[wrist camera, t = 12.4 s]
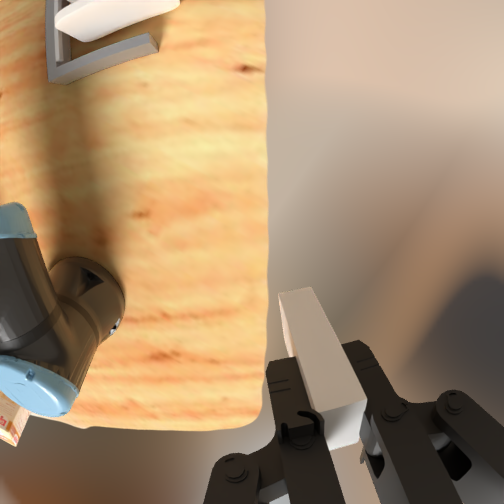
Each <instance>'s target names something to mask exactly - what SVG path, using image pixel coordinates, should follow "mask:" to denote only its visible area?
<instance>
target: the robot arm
mask: <svg viewBox="0 0 504 504" xmlns="http://www.w3.org/2000/svg"><path fill="white" fill-rule="evenodd" d="M278 296H279V303H280V310H281V318H282V326H283V333H284V340H285V343H286V347H287V350H288V354H289V358H284V359H280V360H275V361H270V362H269V364H268V367H267V370H266V377H267V383H268V388H269V393H270V399H271V404H272V410H273V415H274V420H275V425H276V431H275V435H274V437H273V439H272V440H271V442H270V443H269V444H268V445H267V446H265V447H263V448H262V449H260V450H258V451H256V452H253V453H251V454H249V455H245V454H242V453H232V454H229V455H226V456H223V457H222V458H220V459H219V460H218V461H217V462H216V463H215V465H214V467H213V469H212V473H211V476H210V481H209V484H208V488H207V492H206V495H205V499H204V503H203V504H269V502H271V501H273V500H275V499H277V498H279V497H281V496H283V495H285V494H287V493H288V494H289V499H290V504H346V503H345V500H344V497H343V493H342V490H341V487H340V484H339V481H338V477H337V474H336V471H335V468H334V464H333V461H332V458H331V455H330V452H329V450H333V449H336V448H340V447H344V446H347V445H350V444H354V443H357V442H358V440H359V436H360V438H361V440H362V443H363V445H364V446H363V450H362V453H361V456H360V464H362V463H363V462H364V460H365V462H366V465H367V467H368V470H369V473H370V475H371V478H372V480H373V484H374V486H375V489H376V492H377V494H378V497H379V500H380V503H381V504H463V503H464V504H504V427H503V426H502V425H501V424H499V423H498V422H497V421H496V420H495V419H494V418H493V417H492V416H490V414H488V413H487V412H486V411H485V410H484V409H483V408H482V407H480V406H479V405H478V404H477V403H476V402H475V401H474V400H473V399H471V398H470V397H469V396H468V395H467V394H465V393H463V392H462V391H458V390H449V391H446V392H444V393H442V394H441V395H440V396H439V398H438V399H437V401H434V402H426V403H410V402H408V401H407V400H405V399H403V398H401V397H399V396H398V395H397V394H396V392H395V391H394V389H393V387H392V385H391V384H390V382H389V380H388V378H387V377H386V375H385V374H384V372H383V370H382V368H381V366H379V363H378V361H377V360H376V358H375V357H374V355H373V353H372V351H371V350H370V349H369V347H368V346H367V345H366V344H364V343H363V342H361V341H360V340H357V341H353V342H349V343H345V344H340V342H339V341H338V338H337V336H336V334H335V332H334V330H333V328H332V326H331V324H330V322H329V320H328V319H327V317H326V315H325V313H324V311H323V309H322V307H321V305H320V303H319V301H318V299H317V297H316V295H315V294H314V292H313V290H312V288H311V287H306V288H302V289H297V290H292V291H287V292H282V293H278ZM124 310H125V303H124V298H123V294H122V291H121V289H120V287H119V285H118V284H117V282H116V280H115V279H114V278H113V277H112V275H111V274H110V273H109V272H108V271H107V270H106V269H104V268H103V267H102V266H100V265H99V264H97V263H95V262H93V261H91V260H89V259H86V258H81V257H69V258H65V259H63V260H61V261H59V262H58V263H57V264H56V265H55V266H54V267H53V268H52V269H51V270H50V271H49V272H48V271H47V269H46V266H45V263H44V260H43V257H42V254H41V251H40V248H39V245H38V241H37V234H36V233H34V230H33V227H32V224H31V221H30V218H29V215H28V212H27V210H26V208H25V207H24V206H23V205H22V204H20V203H18V202H11V203H7V204H4V205H0V390H1V391H2V392H3V393H4V394H5V395H6V396H7V397H8V398H10V399H11V400H12V401H14V402H15V403H17V404H18V405H20V406H21V407H23V408H25V409H27V410H29V411H31V412H34V413H36V414H39V415H43V416H47V417H60V416H63V415H65V414H67V413H68V412H69V411H70V409H71V407H72V405H73V403H74V401H75V399H76V398H77V397H78V396H79V391H80V389H81V386H82V383H83V381H84V378H85V376H86V373H87V371H88V368H89V366H90V363H91V361H92V359H93V356H94V354H95V351H96V349H97V347H98V346H99V345H100V344H101V343H102V342H104V341H105V340H106V339H107V338H109V337H110V336H111V335H112V334H113V333H114V332H115V331H116V330H117V328H118V327H119V325H120V323H121V320H122V318H123V315H124ZM462 502H463V503H462Z"/></svg>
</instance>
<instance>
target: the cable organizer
mask: <svg viewBox="0 0 504 504" xmlns="http://www.w3.org/2000/svg"><path fill="white" fill-rule="evenodd" d="M67 1H68V2H70V3H71V4H70V5H68V6H66V7H65V8H63V9H62V10H60V11H59V12H58V13H57V14H56V16H55V18H54V19H55V27H56V28H57V29H58V30H60V31H62V32H64V33H66V34H68V35H70V36H72V37H74V38H76V39H78V40H80V41H82V42H90V41H94V40H97V39H99V38H102V37H104V36H106V35H108V34H111V33H113V32H115V31H117V30H120V29H122V28H125V27H127V26H130V25H132V24H135V23H137V22H140V21H143V20H146V19H148V18H151V17H154V16H157V15H160V14H163V13H166V12H169V11H171V10H173V9H175V8H177V7H178V6H179V5H180V0H67Z"/></svg>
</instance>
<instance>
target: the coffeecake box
mask: <svg viewBox="0 0 504 504" xmlns="http://www.w3.org/2000/svg"><path fill="white" fill-rule="evenodd" d="M30 413H31V411H29V410H27V409H25V408H23V407H21V406H20V405H18V404H17V403H15V402H14V401H12V400H11V399H10V398H8V397H7V396H6V395H5V394H4V393H3V392H2V391H1V390H0V438H1V439H3V440H4V441H6V442H8V443H10V444H12V445H14V446H17V443H18V441H19V438H20V436H21V433H22V431H23V429H24V426H25V424H26V422H27V419H28V417H29V415H30Z"/></svg>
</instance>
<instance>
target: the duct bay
mask: <svg viewBox="0 0 504 504" xmlns="http://www.w3.org/2000/svg"><path fill="white" fill-rule="evenodd" d="M68 5H69V2H68V1H67V0H46V11H45V36H46V59H47V72H48V82H51V83H57V84H62V85H67V84H69V83H71V82H74V81H76V80H78V79H81V78H83V77H85V76H88V75H90V74H93V73H96V72H98V71H101V70H103V69H106V68H109V67H112V66H115V65H117V64H120V63H123V62H126V61H129V60H133V59H136V58H139V57H142V56H146V55H149V54H153V53H157V52H158V47H157V42H156V41H155V40H154V38H153V37H152V36H151V35H150V34H149V32H148V33H145V34H142V35H138V36H135V37H132V38H129V39H126V40H123V41H120V42H117V43H114V44H111V45H109V46H106V47H103V48H101V49H98V50H95V51H93V52H90V53H88V54H86V55H83V56H81V57H79V58H76V59H74V60H72V59H71V47H70V35H68V34H66V33H64V32H62V31H60V30H58V29H57V28H56V27H55V19H54V18H55V16H56V14H57V13H58V12H59V11H60V10H62V9H63V8H65V7H66V6H68Z"/></svg>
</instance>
